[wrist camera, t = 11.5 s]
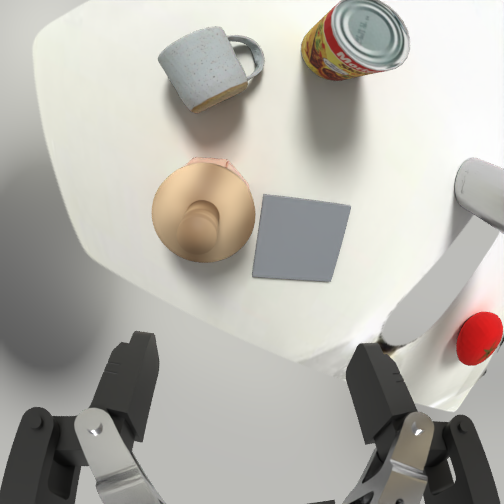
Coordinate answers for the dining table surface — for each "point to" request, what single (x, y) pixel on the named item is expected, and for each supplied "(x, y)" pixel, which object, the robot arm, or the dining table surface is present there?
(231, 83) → the ceramic mug
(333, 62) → the canned food
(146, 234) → the dining table surface
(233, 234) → the lid
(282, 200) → the mat
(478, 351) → the tomato
